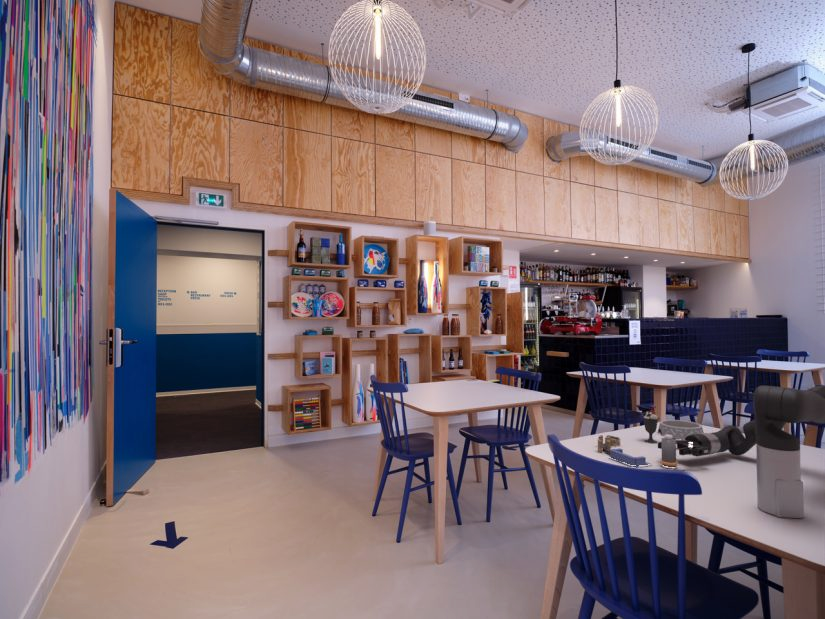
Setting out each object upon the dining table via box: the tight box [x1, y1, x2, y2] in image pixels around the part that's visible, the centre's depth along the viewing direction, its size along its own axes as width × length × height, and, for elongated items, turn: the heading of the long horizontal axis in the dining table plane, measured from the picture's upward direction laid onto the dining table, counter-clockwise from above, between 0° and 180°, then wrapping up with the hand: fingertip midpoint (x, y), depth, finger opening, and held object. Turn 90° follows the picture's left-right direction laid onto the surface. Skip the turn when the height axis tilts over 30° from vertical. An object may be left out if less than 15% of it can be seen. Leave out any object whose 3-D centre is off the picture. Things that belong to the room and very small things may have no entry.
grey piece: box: [660, 434, 678, 468], centre depth 158 cm, size 5×5×11 cm
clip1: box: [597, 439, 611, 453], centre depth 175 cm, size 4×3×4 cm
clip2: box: [597, 434, 612, 449], centre depth 181 cm, size 4×3×4 cm
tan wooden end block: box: [604, 434, 621, 448], centre depth 185 cm, size 4×4×3 cm
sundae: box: [641, 406, 660, 444], centre depth 190 cm, size 7×7×15 cm
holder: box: [609, 447, 651, 468], centre depth 163 cm, size 8×12×3 cm, turn 20°
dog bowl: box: [657, 419, 705, 440], centre depth 201 cm, size 17×18×5 cm
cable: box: [602, 442, 612, 455], centre depth 178 cm, size 16×4×1 cm, turn 155°
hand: (668, 448), depth 158 cm, fingers open, 8 cm apart
